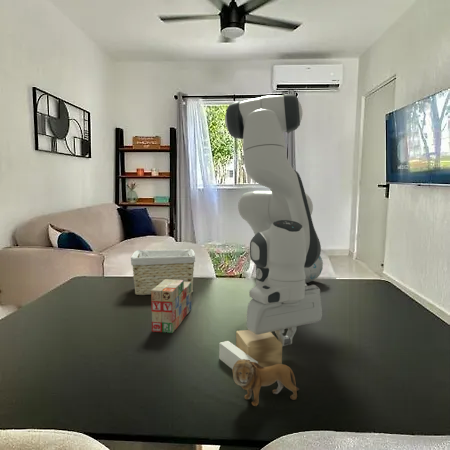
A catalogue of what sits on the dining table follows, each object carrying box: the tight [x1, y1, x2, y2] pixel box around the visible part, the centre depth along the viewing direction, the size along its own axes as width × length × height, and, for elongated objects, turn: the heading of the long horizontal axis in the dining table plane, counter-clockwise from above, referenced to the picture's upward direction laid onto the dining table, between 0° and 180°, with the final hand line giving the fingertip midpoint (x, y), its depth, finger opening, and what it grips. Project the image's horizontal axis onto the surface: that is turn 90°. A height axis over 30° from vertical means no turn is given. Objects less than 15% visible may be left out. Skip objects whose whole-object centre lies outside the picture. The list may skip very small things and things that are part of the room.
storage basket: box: [130, 248, 196, 296], centre depth 155 cm, size 24×16×15 cm
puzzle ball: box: [304, 255, 324, 284], centre depth 168 cm, size 15×15×15 cm
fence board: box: [218, 340, 258, 370], centre depth 91 cm, size 2×13×4 cm, turn 29°
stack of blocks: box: [150, 279, 192, 334], centre depth 122 cm, size 21×6×12 cm, turn 170°
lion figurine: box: [231, 359, 300, 407], centre depth 78 cm, size 15×5×9 cm, turn 114°
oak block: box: [235, 329, 283, 367], centre depth 95 cm, size 8×10×6 cm
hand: (285, 344), depth 97 cm, fingers closed
